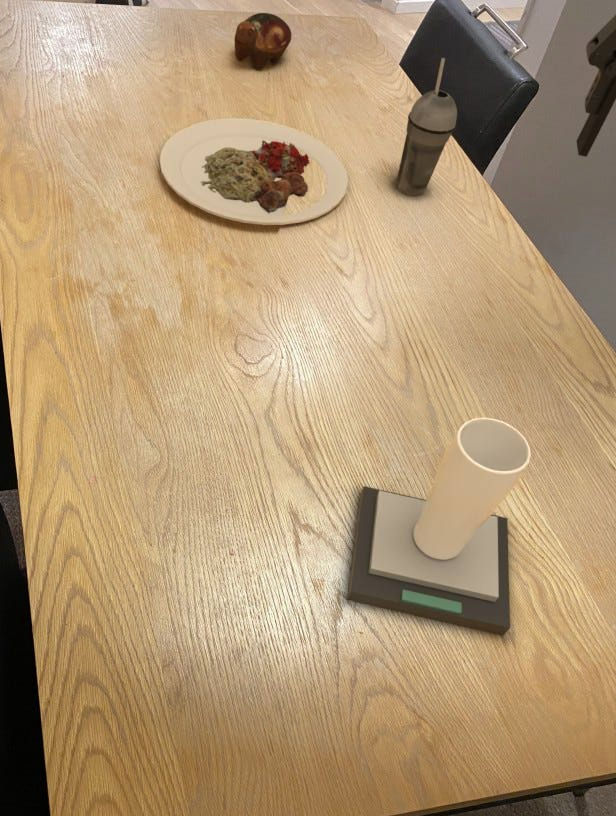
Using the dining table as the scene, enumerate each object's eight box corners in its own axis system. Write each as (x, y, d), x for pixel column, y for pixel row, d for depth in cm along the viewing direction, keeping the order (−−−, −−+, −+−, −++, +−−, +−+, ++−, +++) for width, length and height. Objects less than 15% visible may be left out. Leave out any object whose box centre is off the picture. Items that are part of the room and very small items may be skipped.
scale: (498, 531, 85) (511, 512, 82) (500, 639, 77) (514, 623, 74) (358, 499, 86) (366, 480, 83) (345, 604, 78) (353, 586, 75)
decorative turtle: (215, 64, 143) (220, 15, 137) (260, 47, 151) (266, -1, 145) (257, 80, 140) (264, 30, 133) (301, 62, 148) (309, 14, 142)
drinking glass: (421, 574, 76) (478, 479, 64) (394, 520, 80) (443, 421, 68) (480, 561, 78) (546, 467, 66) (450, 509, 81) (508, 411, 69)
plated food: (130, 200, 115) (130, 179, 112) (196, 112, 132) (197, 92, 129) (320, 255, 111) (325, 234, 109) (362, 158, 128) (368, 138, 126)
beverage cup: (430, 209, 121) (478, 76, 105) (385, 201, 121) (426, 66, 105) (430, 185, 125) (476, 53, 109) (386, 177, 126) (426, 44, 109)
